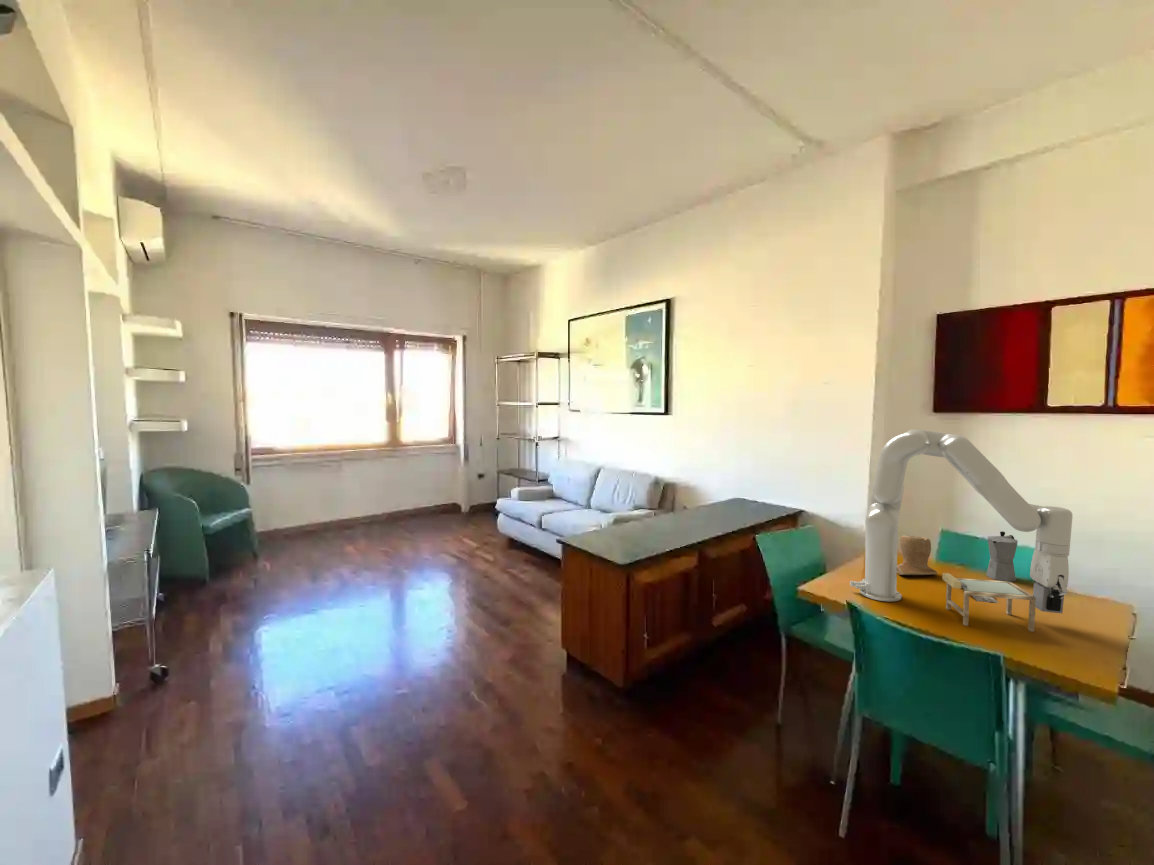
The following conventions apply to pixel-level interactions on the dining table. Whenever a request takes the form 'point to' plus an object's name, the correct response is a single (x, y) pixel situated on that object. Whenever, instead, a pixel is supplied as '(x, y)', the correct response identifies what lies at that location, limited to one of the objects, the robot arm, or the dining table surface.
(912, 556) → the stone cup
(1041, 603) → the granite block
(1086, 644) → the dining table surface
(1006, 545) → the coffeepot
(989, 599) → the stone fragment
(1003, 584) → the trapdoor
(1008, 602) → the trapdoor frame
